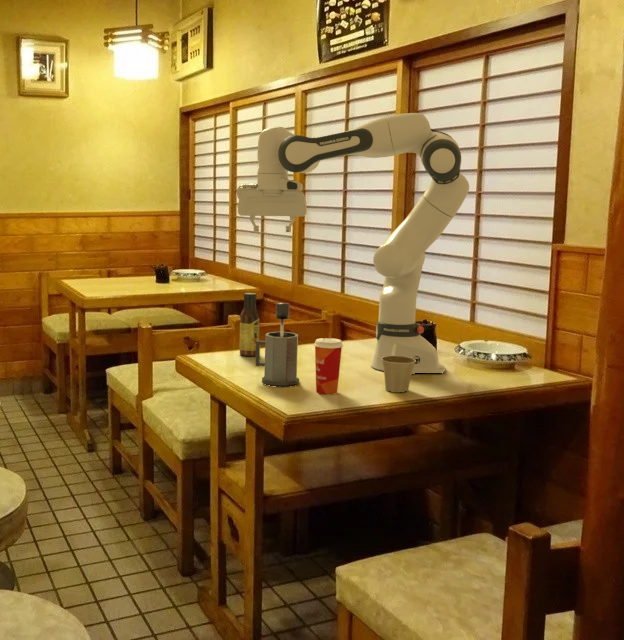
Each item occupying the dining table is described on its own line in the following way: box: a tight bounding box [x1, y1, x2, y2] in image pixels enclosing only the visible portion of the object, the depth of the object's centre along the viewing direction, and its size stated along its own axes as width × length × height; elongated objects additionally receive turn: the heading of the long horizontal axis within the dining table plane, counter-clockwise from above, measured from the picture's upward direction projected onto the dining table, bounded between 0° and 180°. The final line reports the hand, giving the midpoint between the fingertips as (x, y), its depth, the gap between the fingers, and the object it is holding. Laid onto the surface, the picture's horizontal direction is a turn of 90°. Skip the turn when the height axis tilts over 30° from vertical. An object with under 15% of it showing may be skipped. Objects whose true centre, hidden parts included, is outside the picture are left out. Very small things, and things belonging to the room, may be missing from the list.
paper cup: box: [313, 337, 344, 395], centre depth 209 cm, size 8×8×14 cm
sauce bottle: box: [238, 292, 261, 357], centre depth 252 cm, size 7×6×20 cm
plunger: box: [275, 302, 290, 337], centre depth 216 cm, size 6×6×18 cm
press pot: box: [255, 331, 300, 388], centre depth 217 cm, size 12×10×14 cm
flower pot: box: [381, 356, 416, 393], centre depth 214 cm, size 9×9×9 cm
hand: (272, 231), depth 232 cm, fingers open, 8 cm apart
